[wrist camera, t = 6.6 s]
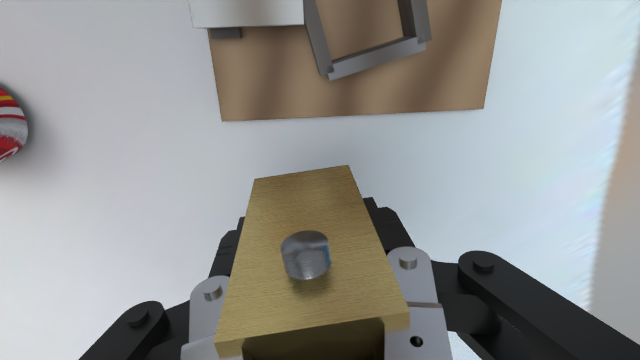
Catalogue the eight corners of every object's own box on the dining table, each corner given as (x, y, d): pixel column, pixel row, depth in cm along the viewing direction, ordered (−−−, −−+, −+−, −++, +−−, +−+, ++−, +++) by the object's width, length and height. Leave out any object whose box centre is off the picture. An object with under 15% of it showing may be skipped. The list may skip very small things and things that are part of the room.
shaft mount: (225, 117, 28) (211, 133, 23) (188, -123, 22) (159, -167, 17) (474, 105, 29) (508, 118, 24) (511, -127, 23) (567, -169, 18)
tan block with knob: (275, 264, 16) (260, 464, 8) (251, 166, 14) (204, 321, 6) (356, 252, 16) (412, 439, 9) (346, 151, 14) (409, 288, 6)
